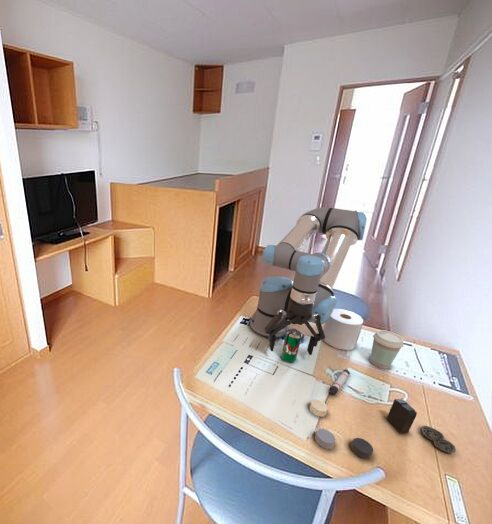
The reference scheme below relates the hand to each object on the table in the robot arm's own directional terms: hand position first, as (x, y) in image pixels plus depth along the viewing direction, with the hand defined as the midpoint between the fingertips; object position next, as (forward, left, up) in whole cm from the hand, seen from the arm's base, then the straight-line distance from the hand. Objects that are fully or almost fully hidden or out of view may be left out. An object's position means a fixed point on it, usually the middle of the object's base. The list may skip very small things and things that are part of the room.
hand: (290, 350), depth 112 cm
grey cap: (+24, -24, -4) cm, 34 cm away
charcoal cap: (+31, -19, -4) cm, 37 cm away
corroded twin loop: (+42, +1, -4) cm, 42 cm away
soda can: (0, 0, -4) cm, 4 cm away
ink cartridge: (+34, -2, -4) cm, 34 cm away
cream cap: (+18, -15, -4) cm, 24 cm away
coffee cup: (+21, +25, -4) cm, 33 cm away
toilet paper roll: (+6, +27, -4) cm, 28 cm away
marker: (+17, +1, -4) cm, 17 cm away
